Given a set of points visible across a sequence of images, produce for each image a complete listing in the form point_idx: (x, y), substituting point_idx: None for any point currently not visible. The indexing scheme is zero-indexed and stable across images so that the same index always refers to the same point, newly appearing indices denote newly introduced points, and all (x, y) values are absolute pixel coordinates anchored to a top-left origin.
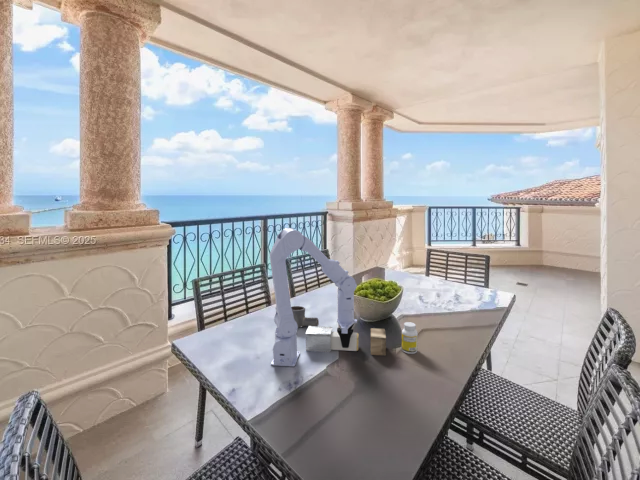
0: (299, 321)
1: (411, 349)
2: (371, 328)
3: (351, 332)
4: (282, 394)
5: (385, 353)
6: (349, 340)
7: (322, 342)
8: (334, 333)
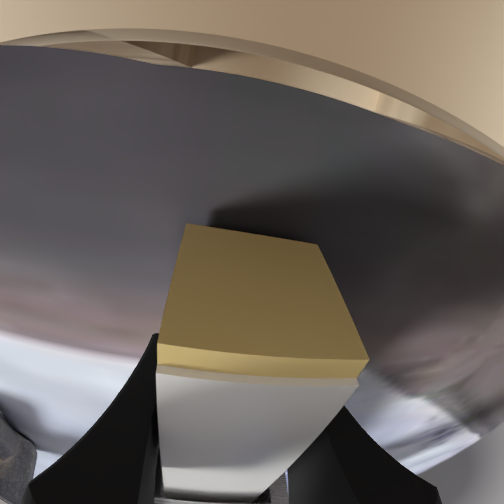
0: (26, 465)
1: None
2: (2, 12)
3: (437, 500)
4: (460, 433)
5: None
6: (350, 414)
7: None
8: (201, 488)
